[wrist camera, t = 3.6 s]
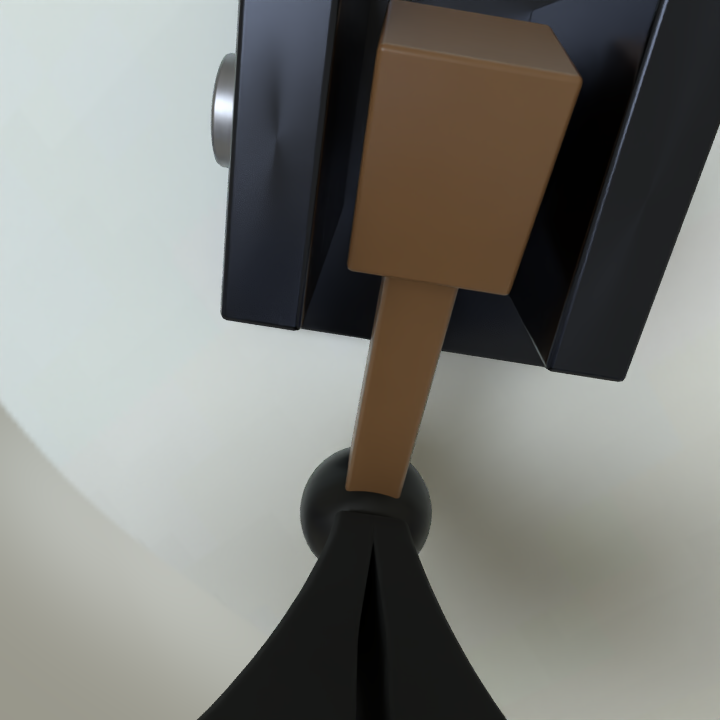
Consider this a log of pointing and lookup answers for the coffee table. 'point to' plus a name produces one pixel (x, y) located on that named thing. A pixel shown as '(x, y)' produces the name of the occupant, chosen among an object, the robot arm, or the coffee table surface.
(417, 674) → the robot arm
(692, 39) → the bracket
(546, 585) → the coffee table surface
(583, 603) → the coffee table surface
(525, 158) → the lever
